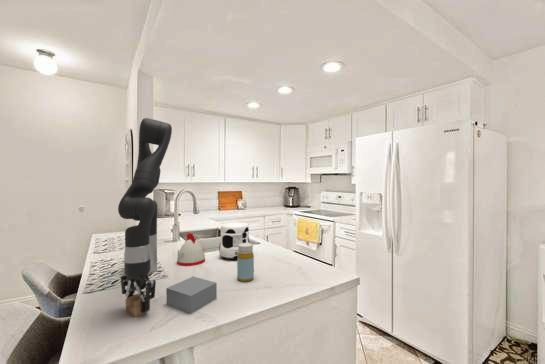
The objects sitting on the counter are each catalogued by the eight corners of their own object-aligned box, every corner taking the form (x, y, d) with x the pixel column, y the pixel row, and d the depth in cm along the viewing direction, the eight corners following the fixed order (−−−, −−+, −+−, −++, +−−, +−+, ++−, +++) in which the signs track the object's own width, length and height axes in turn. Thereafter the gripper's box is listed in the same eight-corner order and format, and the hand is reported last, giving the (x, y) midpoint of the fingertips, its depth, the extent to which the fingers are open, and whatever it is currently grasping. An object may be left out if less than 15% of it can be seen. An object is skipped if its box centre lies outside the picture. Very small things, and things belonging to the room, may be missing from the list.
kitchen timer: (196, 256, 142) (196, 229, 142) (209, 261, 133) (209, 233, 133) (172, 261, 132) (172, 233, 132) (185, 268, 123) (184, 237, 123)
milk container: (232, 250, 153) (232, 220, 153) (256, 254, 144) (256, 223, 144) (212, 258, 138) (212, 225, 138) (237, 263, 129) (237, 228, 129)
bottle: (234, 279, 109) (234, 244, 109) (246, 274, 114) (246, 241, 114) (244, 283, 104) (244, 247, 104) (257, 278, 109) (256, 244, 109)
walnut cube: (125, 314, 81) (125, 298, 81) (139, 307, 86) (139, 292, 86) (136, 317, 79) (136, 302, 79) (150, 310, 84) (149, 295, 84)
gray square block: (166, 305, 87) (166, 288, 87) (193, 291, 98) (193, 276, 98) (190, 314, 81) (190, 296, 81) (216, 299, 92) (216, 282, 92)
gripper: (112, 258, 82) (112, 310, 82) (142, 265, 76) (143, 320, 76) (133, 252, 89) (133, 300, 89) (162, 258, 83) (163, 308, 83)
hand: (138, 309), depth 82 cm, fingers open, 6 cm apart
